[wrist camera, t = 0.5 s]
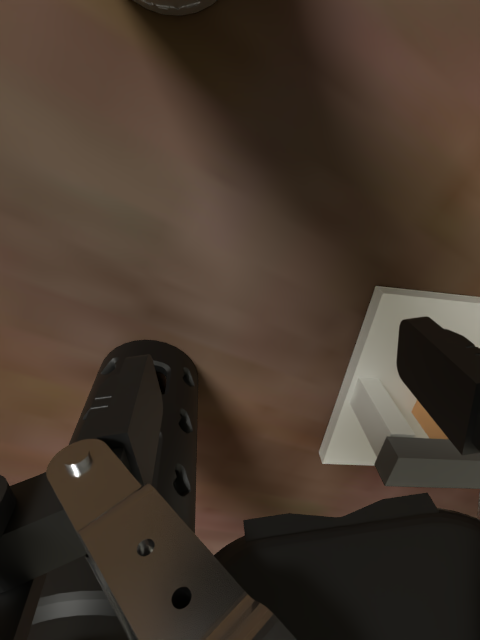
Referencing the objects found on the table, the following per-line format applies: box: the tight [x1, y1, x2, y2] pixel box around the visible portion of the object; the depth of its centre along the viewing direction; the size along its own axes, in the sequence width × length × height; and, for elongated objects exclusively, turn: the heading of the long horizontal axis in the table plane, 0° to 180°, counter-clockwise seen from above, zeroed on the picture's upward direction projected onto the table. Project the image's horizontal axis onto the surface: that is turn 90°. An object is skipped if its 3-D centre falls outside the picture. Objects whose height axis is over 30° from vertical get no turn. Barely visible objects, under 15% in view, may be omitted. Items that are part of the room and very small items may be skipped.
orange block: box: [412, 400, 448, 439], centre depth 34 cm, size 4×8×7 cm, turn 82°
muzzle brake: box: [27, 340, 198, 640], centre depth 23 cm, size 10×28×10 cm
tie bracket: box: [319, 286, 480, 466], centre depth 34 cm, size 20×19×8 cm
